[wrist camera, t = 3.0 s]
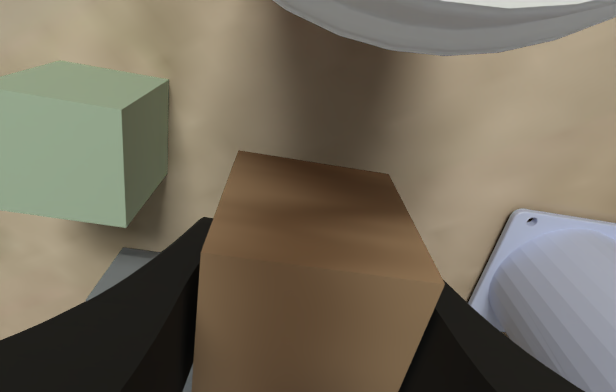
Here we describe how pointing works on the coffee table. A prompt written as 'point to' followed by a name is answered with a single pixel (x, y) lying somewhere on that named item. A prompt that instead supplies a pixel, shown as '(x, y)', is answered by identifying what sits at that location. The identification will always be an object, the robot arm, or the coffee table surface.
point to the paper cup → (452, 22)
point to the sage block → (81, 142)
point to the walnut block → (310, 282)
